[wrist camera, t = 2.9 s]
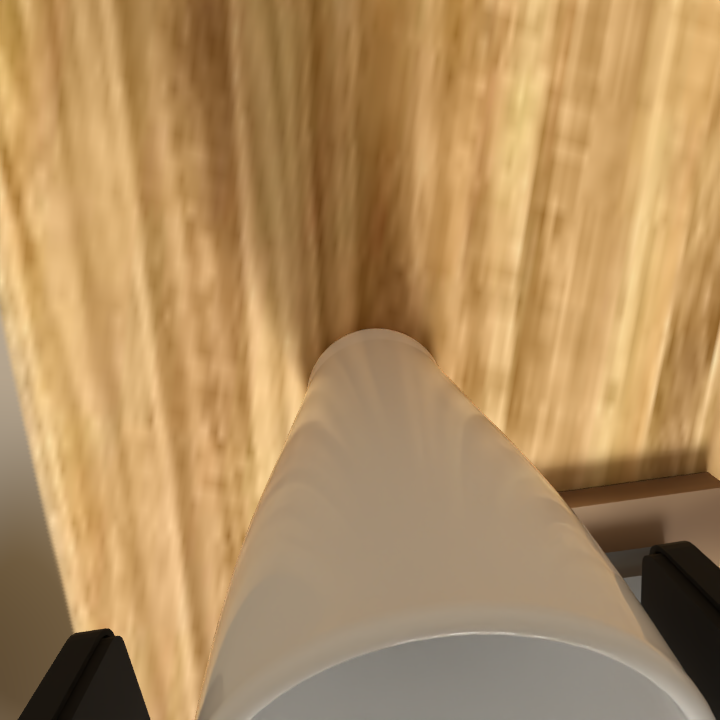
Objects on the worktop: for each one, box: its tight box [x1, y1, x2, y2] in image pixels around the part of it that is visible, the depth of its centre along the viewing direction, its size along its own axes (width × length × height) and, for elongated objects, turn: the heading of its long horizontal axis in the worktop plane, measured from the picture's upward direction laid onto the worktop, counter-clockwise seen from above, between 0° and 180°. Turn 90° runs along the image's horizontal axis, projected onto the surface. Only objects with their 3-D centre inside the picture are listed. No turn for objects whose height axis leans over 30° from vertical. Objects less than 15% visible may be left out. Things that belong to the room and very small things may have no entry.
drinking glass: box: [195, 328, 716, 720], centre depth 13 cm, size 7×7×15 cm
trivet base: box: [558, 472, 720, 603], centre depth 23 cm, size 16×16×3 cm
